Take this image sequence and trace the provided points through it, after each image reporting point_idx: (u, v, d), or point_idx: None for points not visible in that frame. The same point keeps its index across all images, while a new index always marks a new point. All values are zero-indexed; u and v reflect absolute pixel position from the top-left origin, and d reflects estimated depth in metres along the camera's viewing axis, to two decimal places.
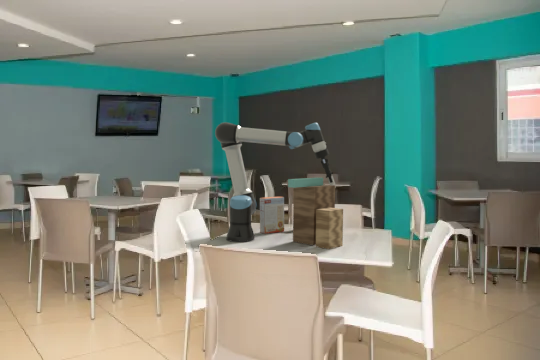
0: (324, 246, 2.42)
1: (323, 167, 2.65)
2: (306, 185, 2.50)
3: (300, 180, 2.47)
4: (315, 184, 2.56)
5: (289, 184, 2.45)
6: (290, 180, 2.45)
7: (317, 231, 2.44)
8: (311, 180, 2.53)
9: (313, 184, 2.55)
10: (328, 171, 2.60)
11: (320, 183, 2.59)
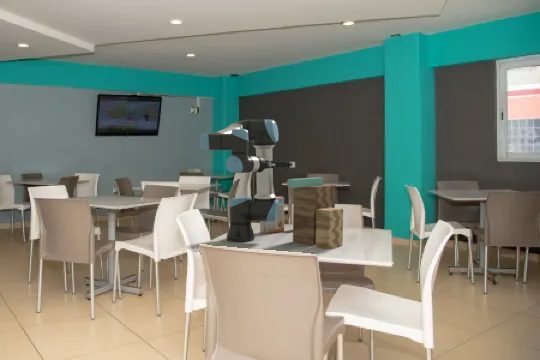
0: (324, 246, 2.42)
1: None
2: (306, 185, 2.50)
3: (300, 180, 2.47)
4: (315, 184, 2.56)
5: (289, 184, 2.45)
6: (290, 180, 2.45)
7: (317, 231, 2.44)
8: (311, 180, 2.53)
9: (313, 184, 2.55)
10: None
11: (320, 183, 2.59)
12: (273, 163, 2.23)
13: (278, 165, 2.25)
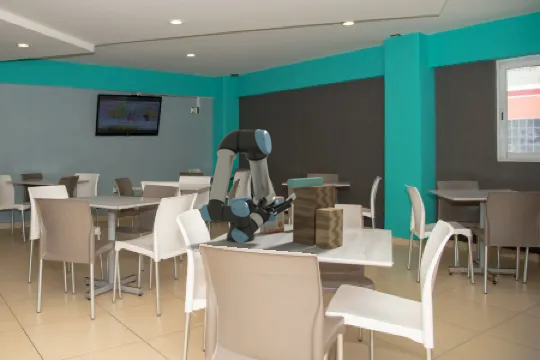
0: (324, 246, 2.42)
1: (263, 204, 2.36)
2: (306, 185, 2.50)
3: (300, 180, 2.47)
4: (315, 184, 2.56)
5: (289, 184, 2.45)
6: (290, 180, 2.45)
7: (317, 231, 2.44)
8: (311, 180, 2.53)
9: (313, 184, 2.55)
10: None
11: (320, 183, 2.59)
12: (275, 212, 2.27)
13: (280, 210, 2.28)
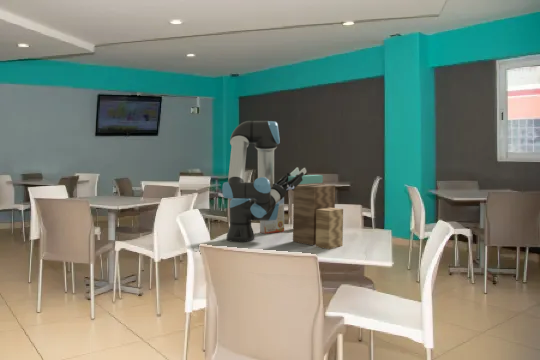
0: (324, 246, 2.42)
1: (282, 180, 2.43)
2: (306, 182, 2.50)
3: None
4: (315, 181, 2.56)
5: None
6: (290, 177, 2.45)
7: (317, 231, 2.44)
8: (311, 177, 2.53)
9: (313, 181, 2.55)
10: None
11: (319, 180, 2.59)
12: (293, 186, 2.36)
13: (296, 184, 2.38)
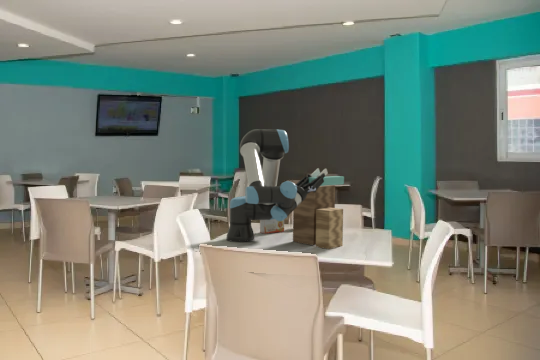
0: (324, 246, 2.42)
1: (303, 182, 2.33)
2: (327, 184, 2.40)
3: None
4: (336, 183, 2.45)
5: None
6: (311, 178, 2.34)
7: (317, 231, 2.44)
8: (332, 179, 2.43)
9: (334, 183, 2.44)
10: None
11: (341, 181, 2.48)
12: (314, 188, 2.26)
13: (317, 186, 2.28)
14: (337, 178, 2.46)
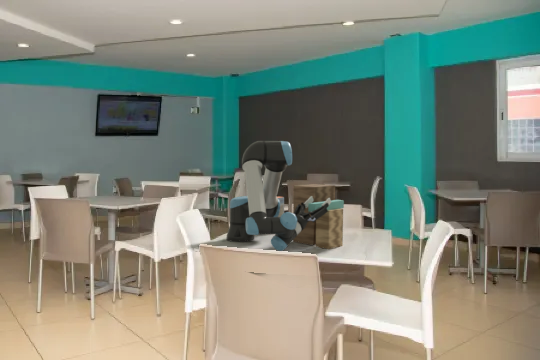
0: (324, 246, 2.42)
1: (300, 210, 2.34)
2: (327, 209, 2.41)
3: (321, 204, 2.37)
4: (336, 207, 2.46)
5: (309, 208, 2.36)
6: (310, 204, 2.35)
7: (317, 231, 2.44)
8: (332, 203, 2.44)
9: (334, 207, 2.45)
10: None
11: (340, 205, 2.49)
12: (313, 218, 2.26)
13: (318, 216, 2.28)
14: (337, 202, 2.47)
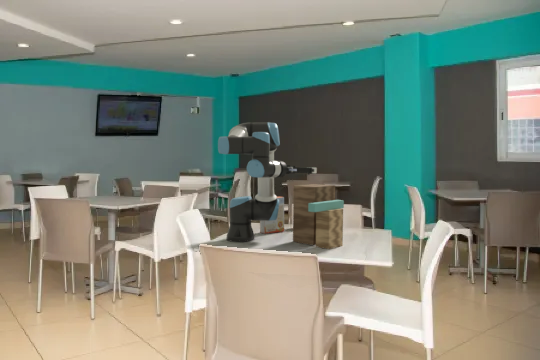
0: (324, 246, 2.42)
1: None
2: (327, 209, 2.41)
3: (321, 204, 2.37)
4: (336, 207, 2.46)
5: (309, 208, 2.36)
6: (310, 204, 2.35)
7: (317, 231, 2.44)
8: (332, 203, 2.44)
9: (334, 207, 2.45)
10: None
11: (340, 205, 2.49)
12: (295, 168, 2.15)
13: (300, 170, 2.17)
14: (337, 202, 2.47)
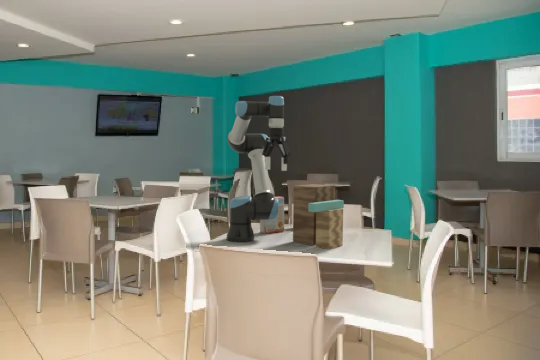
0: (324, 246, 2.42)
1: (274, 146, 2.46)
2: (327, 209, 2.41)
3: (321, 204, 2.37)
4: (336, 207, 2.46)
5: (309, 208, 2.36)
6: (310, 204, 2.35)
7: (317, 231, 2.44)
8: (332, 203, 2.44)
9: (334, 207, 2.45)
10: None
11: (340, 205, 2.49)
12: (285, 138, 2.36)
13: (284, 144, 2.35)
14: (337, 202, 2.47)
